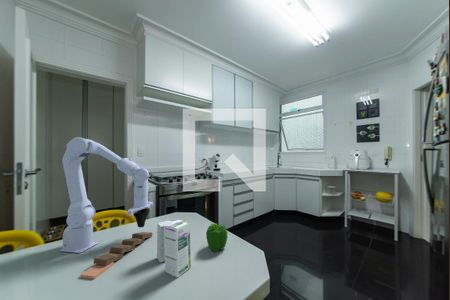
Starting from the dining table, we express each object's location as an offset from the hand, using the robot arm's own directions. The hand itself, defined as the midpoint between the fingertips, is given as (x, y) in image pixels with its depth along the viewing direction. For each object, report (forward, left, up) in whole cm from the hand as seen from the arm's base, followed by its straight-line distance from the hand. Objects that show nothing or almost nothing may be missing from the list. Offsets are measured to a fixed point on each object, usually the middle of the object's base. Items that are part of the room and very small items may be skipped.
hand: (141, 226), depth 77 cm
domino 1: (0, -13, -5) cm, 14 cm away
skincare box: (+19, -11, -6) cm, 22 cm away
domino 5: (+1, +4, -5) cm, 6 cm away
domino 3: (+1, -8, -5) cm, 9 cm away
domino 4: (+1, -2, -5) cm, 5 cm away
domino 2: (+1, -18, -5) cm, 19 cm away
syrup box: (+26, -17, -6) cm, 31 cm away
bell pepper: (+35, -2, -6) cm, 35 cm away
